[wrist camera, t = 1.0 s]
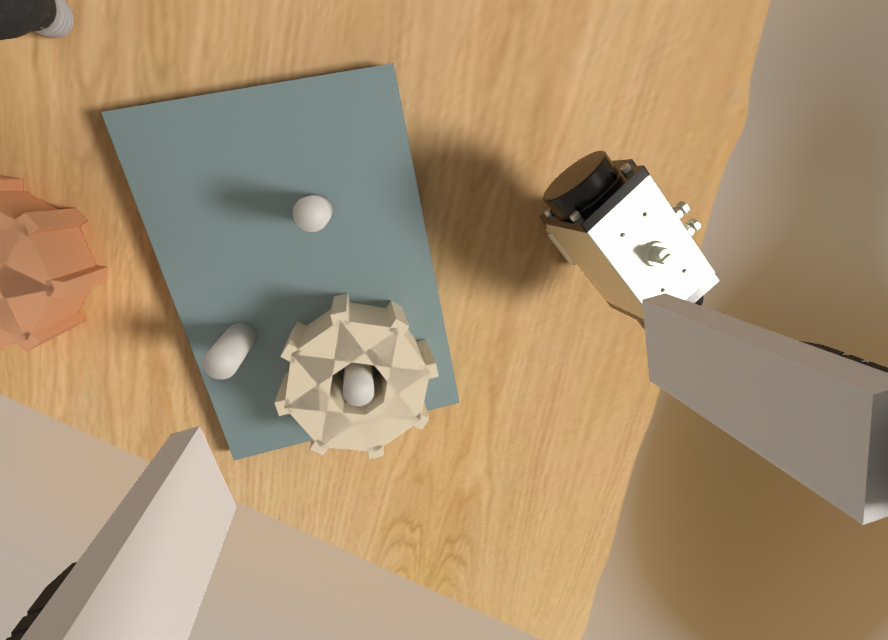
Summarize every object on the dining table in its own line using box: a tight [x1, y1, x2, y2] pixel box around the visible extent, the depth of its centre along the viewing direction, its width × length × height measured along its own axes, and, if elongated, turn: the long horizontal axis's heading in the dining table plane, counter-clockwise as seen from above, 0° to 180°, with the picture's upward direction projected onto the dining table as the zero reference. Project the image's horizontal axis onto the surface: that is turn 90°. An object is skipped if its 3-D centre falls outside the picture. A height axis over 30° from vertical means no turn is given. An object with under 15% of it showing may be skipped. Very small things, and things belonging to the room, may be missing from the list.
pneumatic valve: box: [540, 151, 720, 329], centre depth 32 cm, size 6×12×12 cm, turn 42°
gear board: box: [101, 63, 460, 460], centre depth 31 cm, size 25×18×7 cm
